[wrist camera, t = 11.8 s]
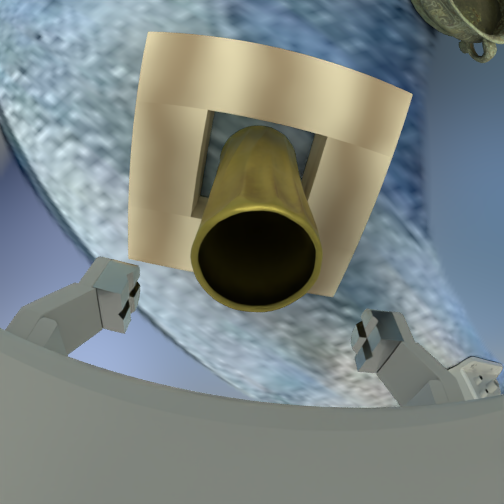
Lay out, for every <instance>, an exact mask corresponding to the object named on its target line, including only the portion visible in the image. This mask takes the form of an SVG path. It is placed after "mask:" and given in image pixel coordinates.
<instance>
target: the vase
mask: <svg viewBox="0 0 504 504" xmlns="http://www.w3.org/2000/svg"><path fill="white" fill-rule="evenodd" d="M190 258H191V264H192V268H193V272H194V274H195V277H196V279H197V280H198V282H199V284H200V285H201V286H202V288H203V289H204V290H205V291H206V292H207V293H208V294H209V295H210V296H211V297H212V298H213V299H215V300H216V301H218V302H219V303H221V304H223V305H225V306H227V307H230V308H232V309H235V310H240V311H246V312H268V311H273V310H277V309H280V308H283V307H285V306H287V305H289V304H291V303H293V302H295V301H296V300H298V299H299V298H301V297H302V296H304V295H305V294H306V293H307V292H308V291H309V290H310V289H311V287H312V286H313V285H314V284H315V282H316V281H317V279H318V277H319V275H320V271H321V265H322V258H323V250H322V246H321V242H320V237H319V232H318V228H317V225H316V223H315V220H314V217H313V214H312V212H311V209H310V207H309V204H308V202H307V199H306V196H305V194H304V191H303V187H302V184H301V180H300V176H299V171H298V166H297V161H296V153H295V150H294V148H293V146H292V145H291V143H290V142H289V140H288V139H287V138H286V136H285V135H283V134H282V133H280V132H279V131H277V130H275V129H273V128H270V127H266V126H250V127H246V128H244V129H242V130H240V131H238V132H236V133H235V134H233V135H232V136H231V137H230V138H229V139H228V140H227V142H226V143H225V145H224V147H223V149H222V151H221V155H220V164H219V166H218V170H217V174H216V177H215V180H214V183H213V186H212V189H211V192H210V195H209V199H208V202H207V204H206V207H205V210H204V213H203V216H202V220H201V223H200V226H199V228H198V231H197V234H196V236H195V239H194V242H193V244H192V247H191V254H190Z"/></svg>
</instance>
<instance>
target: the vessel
mask: <svg viewBox="0 0 504 504" xmlns="http://www.w3.org/2000/svg"><path fill="white" fill-rule="evenodd" d="M411 2H412V3H413V5H414V7H415V9H416V11H417V12H418V13H419V14H420V15H421V17H422V18H423V19H424V20H425V21H426V22H427V23H428V24H430V25H431V26H432V27H434V28H435V29H436V30H438V31H439V32H441V33H443V34H445V35H448V36H453V37H455V38H457V39H459V40H461V42H459V48H460V50H461V51H462V52H463V53H469V55H470V56H471V57H472V58H473V59H474V60H476V61H478V62H480V63H485V62H488V61H489V60H490V59H492V58H493V57H494V55H495V54H496V50H497V49H496V44H495V43H497V44H504V0H411ZM481 42H482V44H483V50H484V53H483V55H482V56H478V54H477V53H476V52H475V49H474V45H473V43H481Z"/></svg>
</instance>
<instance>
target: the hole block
mask: <svg viewBox="0 0 504 504" xmlns="http://www.w3.org/2000/svg"><path fill="white" fill-rule="evenodd" d="M412 95H413V94H411V93H409V92H407V91H404V90H402V89H400V88H398V87H395V86H393V85H391V84H388V83H386V82H384V81H381V80H379V79H376V78H374V77H371V76H369V75H366V74H363V73H361V72H358V71H355V70H352V69H349V68H346V67H344V66H341V65H338V64H334V63H331V62H328V61H325V60H322V59H318V58H315V57H311V56H308V55H304V54H300V53H297V52H293V51H289V50H284V49H280V48H276V47H271V46H267V45H262V44H257V43H251V42H246V41H240V40H234V39H227V38H220V37H213V36H204V35H195V34H183V33H167V32H148V35H147V40H146V45H145V50H144V55H143V61H142V66H141V72H140V79H139V85H138V92H137V100H136V107H135V116H134V125H133V135H132V147H131V160H130V177H129V202H128V257H129V259H133V260H137V261H142V262H147V263H151V264H156V265H161V266H166V267H171V268H176V269H181V270H186V271H191V272H193V268H192V264H191V258H190V254H191V247H192V244H193V242H194V239H195V236H196V234H197V231H198V228H199V226H200V223H201V220H202V216H203V213H204V210H205V207H206V204H207V202H208V199H209V198H207V197H202V196H200V194H201V187H202V181H203V175H204V169H205V163H206V157H207V151H208V145H209V140H210V134H211V129H212V123H213V118H214V113H215V111H218V112H224V113H229V114H235V115H240V116H245V117H250V118H255V119H259V120H264V121H269V122H273V123H277V124H282V125H286V126H290V127H294V128H298V129H302V130H305V131H309V132H313V133H315V136H314V140H313V143H312V147H311V150H310V154H309V157H308V160H307V164H306V167H305V171H304V174H303V177H302V181H301V184H302V187H303V191H304V194H305V196H306V199H307V202H308V204H309V207H310V209H311V212H312V214H313V217H314V220H315V223H316V225H317V228H318V232H319V237H320V242H321V246H322V250H323V258H322V265H321V271H320V275H319V277H318V279H317V281H316V282H315V284H314V285H313V286H312V287H311V289H310V290H309V291H308V292H307V293H311V294H317V295H323V296H329V297H333V296H334V294H335V292H336V290H337V288H338V286H339V284H340V282H341V280H342V278H343V276H344V273H345V271H346V269H347V267H348V265H349V263H350V260H351V258H352V256H353V254H354V251H355V249H356V247H357V245H358V242H359V240H360V238H361V235H362V233H363V231H364V228H365V226H366V224H367V221H368V219H369V216H370V214H371V212H372V209H373V207H374V204H375V202H376V199H377V197H378V194H379V191H380V189H381V186H382V184H383V181H384V178H385V176H386V173H387V170H388V168H389V165H390V162H391V159H392V156H393V154H394V151H395V148H396V145H397V142H398V139H399V136H400V133H401V130H402V127H403V124H404V121H405V118H406V114H407V111H408V108H409V105H410V101H411V98H412Z"/></svg>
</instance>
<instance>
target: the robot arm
mask: <svg viewBox="0 0 504 504" xmlns="http://www.w3.org/2000/svg"><path fill="white" fill-rule="evenodd" d="M139 276H140V268H139V266H138V265H133V264H129V263H125V262H122V261H118V260H114V259H109V258H105V257H101V256H100V257H98V258H96V260H95V261H94V262H93V264H92V265H91V267H90V268H89V269H88V271H87V272H86V273H85V275H84V276H83V277H82V279H81V281H80V282H79V283H73V284H70V285H68V286H66V287H64V288H62V289H60V290H57V291H55V292H53V293H51V294H48V295H46V296H44V297H42V298H40V299H38V300H36V301H34V302H31V303H30V304H27V305H25V306H23V307H22V308H21V309H20V310H19V311H18V313H17V314H16V316H15V317H14V319H13V320H12V321H11V323H10V324H9V325H8V327H7V328H6V330H3V329H1V328H0V504H504V394H502V395H500V388H499V383H498V381H497V380H496V378H497V377H498V375H499V374H500V372H501V371H502V368H503V367H502V364H500V363H496V362H492V361H488V360H484V359H480V358H476V357H470V358H468V359H466V360H465V361H463V362H462V363H460V364H459V365H457V366H455V367H453V368H451V369H449V370H447V369H446V368H445V367H444V366H443V365H442V364H440V363H439V362H438V361H437V360H436V359H435V358H434V357H433V356H432V355H431V354H430V353H429V352H428V351H426V350H425V349H424V348H423V347H422V346H421V345H420V344H419V343H415V341H414V339H413V336H412V334H411V332H410V329H409V327H408V325H407V323H406V320H405V318H404V316H403V314H401V313H400V312H391V311H389V312H388V311H381V310H374V309H366V310H365V311H364V312H363V313H362V315H361V319H362V321H361V322H359V323H358V324H356V325H355V327H354V329H353V331H352V335H351V346H352V349H353V350H354V351H355V352H356V353H357V354H356V356H355V362H356V366H357V370H358V372H369V373H377V375H378V377H379V378H380V379H381V381H382V382H383V383H384V385H385V386H386V387H387V388H388V390H389V391H390V392H391V394H392V395H393V396H394V398H395V399H396V400H397V402H398V403H399V404H400V406H401V407H381V408H342V407H316V406H300V405H288V404H277V403H267V402H259V401H250V400H243V399H236V398H229V397H223V396H217V395H211V394H205V393H200V392H195V391H190V390H185V389H180V388H175V387H171V386H167V385H162V384H158V383H154V382H150V381H146V380H142V379H138V378H134V377H131V376H127V375H124V374H120V373H117V372H113V371H110V370H106V369H103V368H100V367H96V366H94V365H91V364H88V363H84V362H82V361H79V360H76V359H73V358H70V357H68V354H69V353H71V352H72V351H74V350H75V349H76V348H78V347H79V346H80V345H82V344H83V343H84V342H86V341H87V340H89V339H90V338H91V337H93V336H94V335H96V334H97V333H98V332H99V331H101V330H102V328H104V329H107V330H111V331H115V332H120V333H124V334H125V332H126V330H127V328H128V325H129V323H130V321H131V313H132V312H134V311H135V310H136V307H137V305H138V301H139V297H140V285H139V283H138V282H137V280H138V278H139Z"/></svg>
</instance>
